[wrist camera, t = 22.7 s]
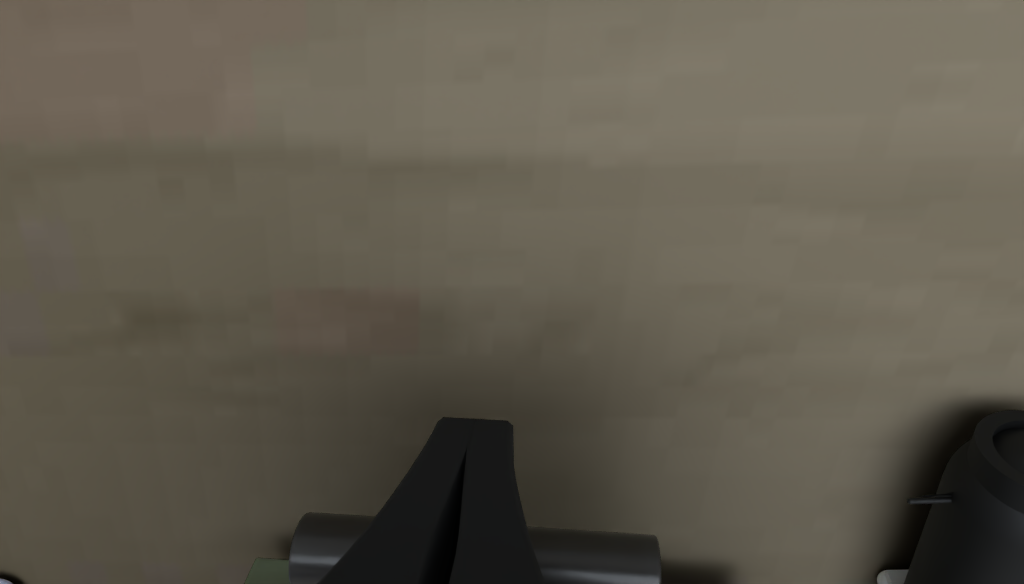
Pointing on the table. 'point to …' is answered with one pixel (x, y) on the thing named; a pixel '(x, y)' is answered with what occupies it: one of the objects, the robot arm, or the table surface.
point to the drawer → (560, 552)
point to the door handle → (975, 512)
